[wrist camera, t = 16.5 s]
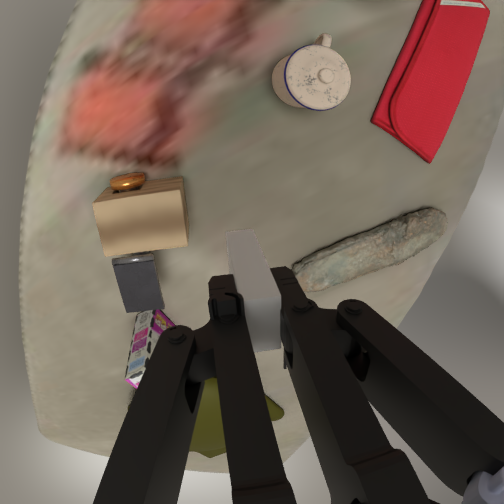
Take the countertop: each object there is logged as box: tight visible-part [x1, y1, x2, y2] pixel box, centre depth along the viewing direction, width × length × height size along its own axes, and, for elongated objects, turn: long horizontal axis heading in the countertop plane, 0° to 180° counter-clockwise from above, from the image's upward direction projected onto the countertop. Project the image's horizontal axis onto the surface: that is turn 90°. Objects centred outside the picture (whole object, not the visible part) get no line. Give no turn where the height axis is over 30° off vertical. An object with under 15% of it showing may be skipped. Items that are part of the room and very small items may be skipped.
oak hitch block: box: [92, 176, 189, 257], centre depth 44 cm, size 8×12×8 cm, turn 93°
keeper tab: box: [112, 253, 165, 313], centre depth 44 cm, size 9×6×1 cm
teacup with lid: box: [272, 33, 351, 111], centre depth 37 cm, size 12×9×12 cm
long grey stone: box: [292, 207, 448, 292], centre depth 57 cm, size 35×5×10 cm
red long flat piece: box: [371, 0, 490, 164], centre depth 41 cm, size 16×41×4 cm, turn 155°
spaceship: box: [128, 376, 284, 458], centre depth 67 cm, size 35×31×10 cm
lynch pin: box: [110, 172, 150, 256], centre depth 46 cm, size 13×5×5 cm, turn 3°
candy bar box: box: [125, 309, 175, 389], centre depth 51 cm, size 11×5×16 cm, turn 31°
